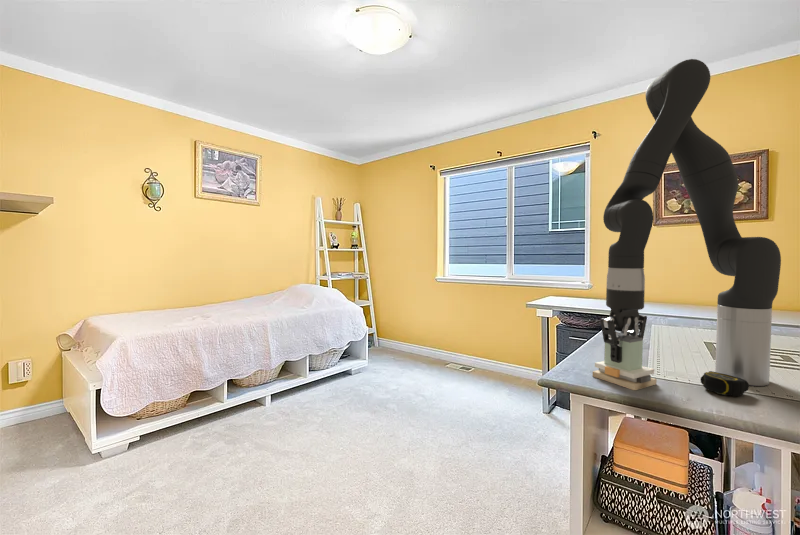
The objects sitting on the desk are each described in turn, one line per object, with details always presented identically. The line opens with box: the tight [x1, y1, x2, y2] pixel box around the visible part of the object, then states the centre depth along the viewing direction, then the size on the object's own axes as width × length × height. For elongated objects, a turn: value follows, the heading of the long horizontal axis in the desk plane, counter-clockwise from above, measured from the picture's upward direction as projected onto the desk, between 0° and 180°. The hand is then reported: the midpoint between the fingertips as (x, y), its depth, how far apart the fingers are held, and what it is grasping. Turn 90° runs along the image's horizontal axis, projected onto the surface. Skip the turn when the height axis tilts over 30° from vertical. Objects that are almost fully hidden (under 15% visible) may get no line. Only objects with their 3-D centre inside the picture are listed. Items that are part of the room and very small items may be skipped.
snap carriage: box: [594, 360, 655, 382], centre depth 84 cm, size 8×9×2 cm
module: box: [603, 335, 644, 371], centre depth 84 cm, size 5×6×7 cm
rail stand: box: [592, 369, 658, 391], centre depth 85 cm, size 8×10×2 cm
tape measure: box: [700, 370, 750, 397], centre depth 77 cm, size 7×7×4 cm
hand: (623, 359), depth 84 cm, fingers closed on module, 4 cm apart
